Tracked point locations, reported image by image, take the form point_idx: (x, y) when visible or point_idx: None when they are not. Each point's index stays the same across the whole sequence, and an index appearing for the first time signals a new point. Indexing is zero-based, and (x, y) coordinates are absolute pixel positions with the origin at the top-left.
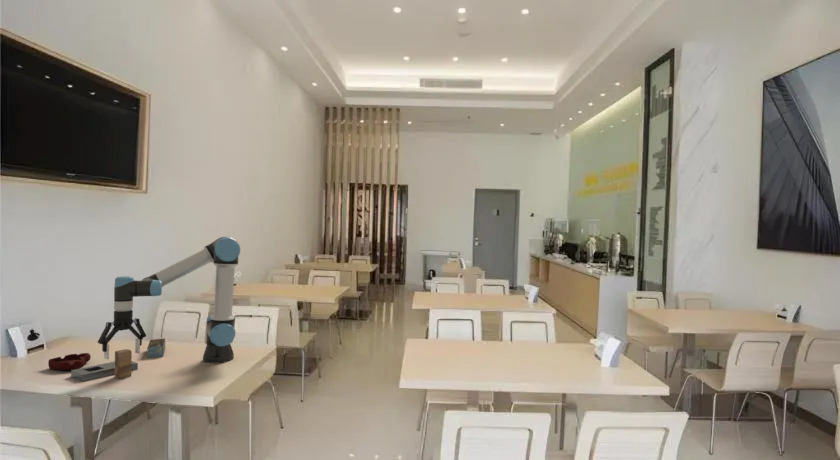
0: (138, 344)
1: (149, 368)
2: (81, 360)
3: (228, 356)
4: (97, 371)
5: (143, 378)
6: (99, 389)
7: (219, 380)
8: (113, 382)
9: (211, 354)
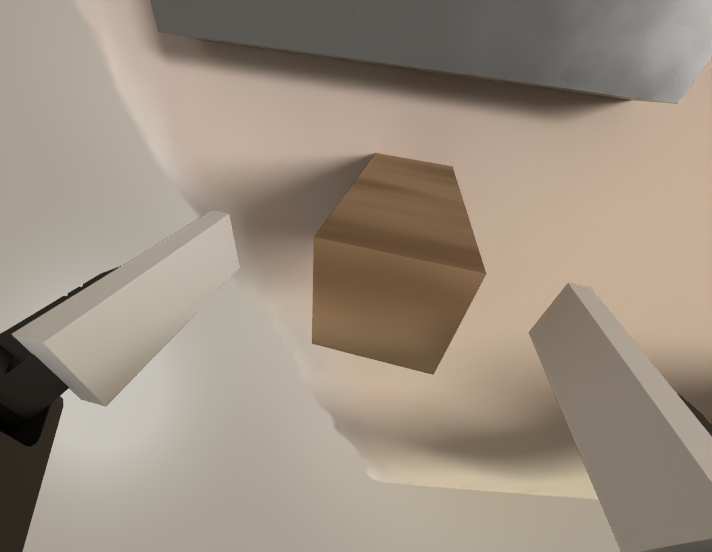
0: (579, 443)
1: (667, 178)
2: None
3: None
4: (273, 38)
5: None
6: (238, 272)
7: (490, 477)
8: None
9: None
